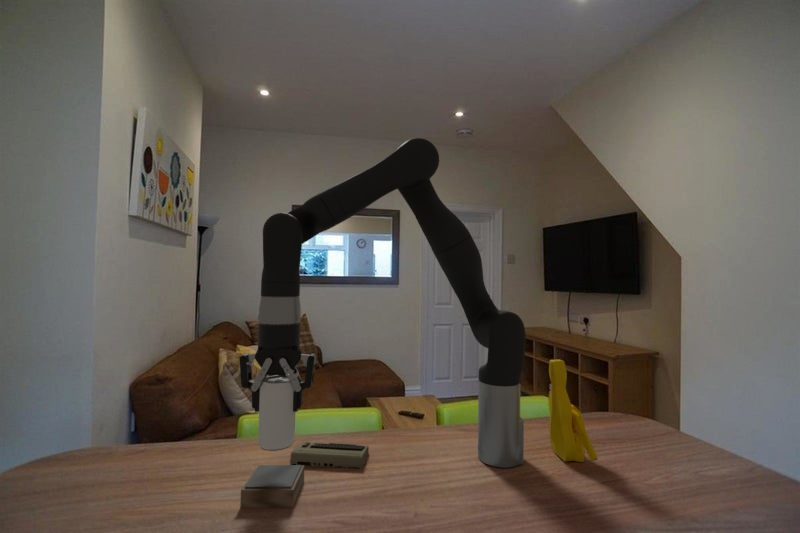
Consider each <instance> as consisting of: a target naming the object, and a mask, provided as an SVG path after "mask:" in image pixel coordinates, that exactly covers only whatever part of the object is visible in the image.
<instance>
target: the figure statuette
mask: <svg viewBox="0 0 800 533" xmlns="http://www.w3.org/2000/svg"><path fill="white" fill-rule="evenodd" d="M548 363H549V364H548V375H549V379H550V384H551V390H550V393H549V395H548V400H547V402H548V408H549V410H548V411H549V417H550V419H549V421H550V422H549V430H548V431H549V433H548V434H549V443H550V447H551V451H552V452H553V453H555V454H556V455H557V456H558V457H559V459H561V460H562V461H563V462H580V463H583V462H585V450H586V454H587V456H588V458H589V460H590V462H593V461H594V462H595V461H597V460H599V457H598V455H597V453H596V451H595V448H594V446H593V444H592V441H591V440H590V437H589V434H588V433H587V430H586V427H585V424H586V422H585V419H584V418H583V416H582V415H583V413H582V412H581V411H580V409H578V408H577V407H576V406H575V405H573V403H571V400H570V397H569V394H568V392H567V391H568V390H567V389H566V388H567V379H568V377H567V375H568V373H567V367H566V362H565V360H562V359H558V358H555V359H550V360H549V362H548Z"/></svg>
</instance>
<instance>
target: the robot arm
mask: <svg viewBox="0 0 800 533" xmlns="http://www.w3.org/2000/svg"><path fill="white" fill-rule="evenodd" d="M439 164H440V154H439V151H438V149H437V147H436V146H435V145H434V144H433V142H431V141H430V140H428V139H426V138H421V137H416V138H415V137H414V138H410V139H408V140H406V141H405V142H403V143H402V144H401V145H400V146H399V147H398V148H397V149H396V150H394V151H393V152H392V153H391V154H389V155H388V156H387V157H385V158H384V159H382V160H381V161H378V162H377V163H375V164H373V165H372V166H371V167H369V168H367V169H366V170H364V171H361V172H360V173H357V174H355V175H353V176H352V177H350V178H347V179H345V180H343V181H341V182H339V183H337V184H334V186H331V187H329V188H327V189H325V190H323V191H321V192H319V193H317V194H316V195H313V196H312V197H310V198H309V199H307V200H306V201H305V202H304V203H302V205H300V206H298V207H296V208H294V209H292V210H290V211H289V212H277V213H275V214H272V215H271V216H270V217H268V218H267V219H266V221H265V222H264V224H263V227H262V258H263V259H262V260H263V261H262V264H263V269H262V273H261V282H260V301H259V305H258V306H259V307H258V315H257V321H258V324H257V326H258V328H257V329H258V332H257V350H256V352H255V353H248V352H246V353H244V354H241V356H239V370H240V385H241V388H243V389H248V390H250V392H251V407H252V409H254V412H255V413H256V412H257V413H259V399H260V387H261V385H262V383H263V380H264V379H265V378H266V377H270V376H277V375H279V376H286V375H287V377H288V379H289V381H290V382H291V383H292V385H293V387H294V389H295V391H294V392H293V412H295V413H296V412H297V413H298V411H299V410H300V409H301V408H302V406H303V404H304V402H303V401H304V400H303V399H304V390H306V389H309V388H311V387H312V385H313V384H314V378H315V370H316V364H317V363H316V362H317V355H316V353H311V354H308V353H303V352H302V350H301V346H300V345H301V344H300V343H301V342H300V341H301V314H302V313H301V312H302V310H301V307H302V306H301V300H300V299H301V298H300V292H301V291H300V290H301V275H300V273H301V272H300V267H301V266H300V265H301V257H302V251H303V250H302V249H303V247H302V246H303V244H305V243H306V242H309V241H310V240H311V239H312V238H315V237H316V236H317V235H319V234H320V233H323V232H325V231H328V230H330V229H332V228H334V227H336V226H338V225H340V224H341V223H343V222H344V221H346V220H348V219H350V218H352V217H354V216H355V215H357V214H358V213H360V212H362V211H363V210H364V209H366V208H367V207H369V206H371V205H372V204H374V203H375V202H376V201H377V200H380V199H381V198H383V197H384V196H386V195H388V194H390V193H392V192H394V191H395V190H398V192H399V193H400V195H401V196H402V198H403V199H404V201H405V202H406V204H407V205H408V206H409V209H410V211H411V212H412V213H413V215H414V217H415V219H416V221H417V223H418V225H419V227H420V229H421V231H422V233H423V235H424V236H425V239H426V240H427V243H428V244H429V246H430V249H431V251H432V252H433V255H434V256H435V259H436V261H437V263H438V264H439V266H440V268H441V270H442V271H443V273H444V275H445V276H446V279H447V280H448V283H449V284H450V286H451V288H452V290H453V292H454V294H455V295H456V297H457V299H458V300H459V301H458V302H459V303H460V305H461V307H462V309H463V312H464V314H465V317H466V319H467V323H468V325H469V327H470V330H471V332H472V334H473V337H474V339H475V340H476V341H477V343H479V345H480V346H482V347H484V348H486V349H487V360H486V363H485V364H484V365H481V366H479V368H478V382H477V383H478V391H477V392H478V396H477V397H478V399H477V400H478V406H477V410H478V411H477V412H478V413H477V414H478V418H477V420H478V421H477V422H478V424H477V427H478V428H477V431H478V432H477V437H478V438H477V456H478V459H479V460H480V461H481V462H482V463H484V464H487V465H489V466H492V467H495V468H514V467H517V466H519V465H524V464H525V462H524V457H525V455H524V454H525V452H524V449H525V446H524V445H525V444H524V441H525V440H524V439H525V438H524V436H525V435H524V434H525V433H524V430H525V428H524V427H525V426H524V422H525V421H524V419H523V418H522V417H521V376H522V374H523V371H524V368H525V358H526V354H525V353H526V328H525V324H524V322H523V320H522V318H521V317H520V315H518V314H516V312H513V311H508V310H500V309H498V307H497V306H496V305H495V303H494V301H493V299H492V298H491V296H490V294H489V292H488V290H487V287H486V284H485V282H484V271H483V261H482V256H481V253H480V251H479V248H478V246H477V244H476V242H475V241H474V238H473V237H472V234H471V232H470V231H469V229H468V227H467V226H466V225H465V224H464V222H463V221H462V220H461V219H460V218H458V216H457V215H456V214H455V213H454V212H453V211H451V210H450V209H449V208H448V207H447V206H446V205H445V204H444V202H443V201H442V200H441V199H440V197H439V195H438V194H437V191H436V190H435V187H434V185H433V184H432V181H431V178H432V177H433V176H434V175H435V173H436V172H437V170H438V169H439ZM300 361H302V362H303V366H304V367H306V368H305V378H304V380H302V378H301V376H300V372H299V370H298V369H297V365H298V364H299V363H300ZM255 362H257V364H258V365H259V367H260V370H259V372H258V373H257V375H256V377H255V379H253V370H252V366H253V364H254V363H255Z"/></svg>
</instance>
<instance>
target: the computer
mask: <svg viewBox="0 0 800 533" xmlns="http://www.w3.org/2000/svg"><path fill="white" fill-rule="evenodd" d="M369 449H370V448H369V445H357V444H351V443H335V442H329V443H328V442H327V443H325V442H324V443H323V442H312V441H311V442H310V441H302V442H301V443H300V444H298V445H297V446H296V447H294V449H293V450H292V451H291V452H290V459H289V465H290V464H296V465H300V464H299V463H305V464H304V465H310V466H311V467H323V468H343V469H347V468H348V469H359V470H362V469H363V468H364V466H365V463H366V460H367V458H368V456H369Z"/></svg>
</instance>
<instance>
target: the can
mask: <svg viewBox="0 0 800 533" xmlns="http://www.w3.org/2000/svg"><path fill="white" fill-rule="evenodd" d="M294 391H295V389H294V387H293V385H292V383H291V382H290V381H289V379H288V377H287V375H286V376H279V375H274V376H267V377H266V378H265V379H264V380H263V383H262V385H261V387H260V399H259V412H258V433H257V434H258V439H257V440H258V447H259V448H260V449H261V450H263V451H268V452H278V451H282V450H286V449H288V448H289V447H292V445H293V444H294V442H295V439H296V438H295V437H296V435H295V434H296V412H293V392H294Z"/></svg>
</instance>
